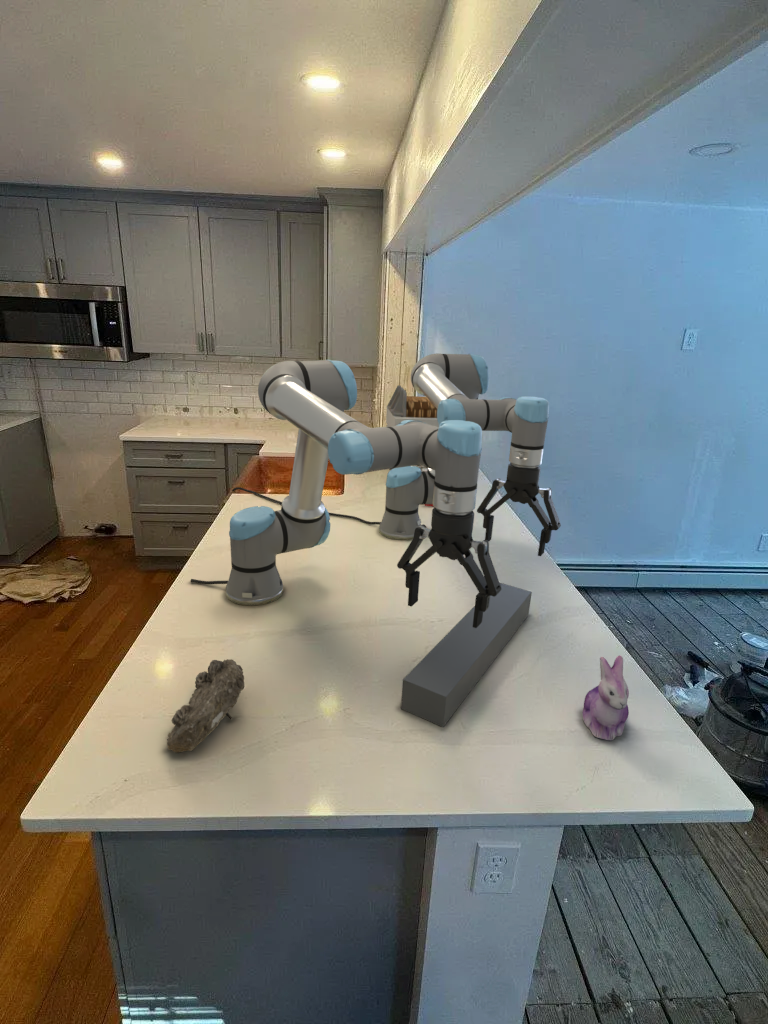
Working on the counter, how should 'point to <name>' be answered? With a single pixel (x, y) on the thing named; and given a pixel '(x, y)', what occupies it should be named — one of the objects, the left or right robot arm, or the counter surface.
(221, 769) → the counter surface
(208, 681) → the fossil
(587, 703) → the figurine
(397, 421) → the transformer
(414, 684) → the wide beam
